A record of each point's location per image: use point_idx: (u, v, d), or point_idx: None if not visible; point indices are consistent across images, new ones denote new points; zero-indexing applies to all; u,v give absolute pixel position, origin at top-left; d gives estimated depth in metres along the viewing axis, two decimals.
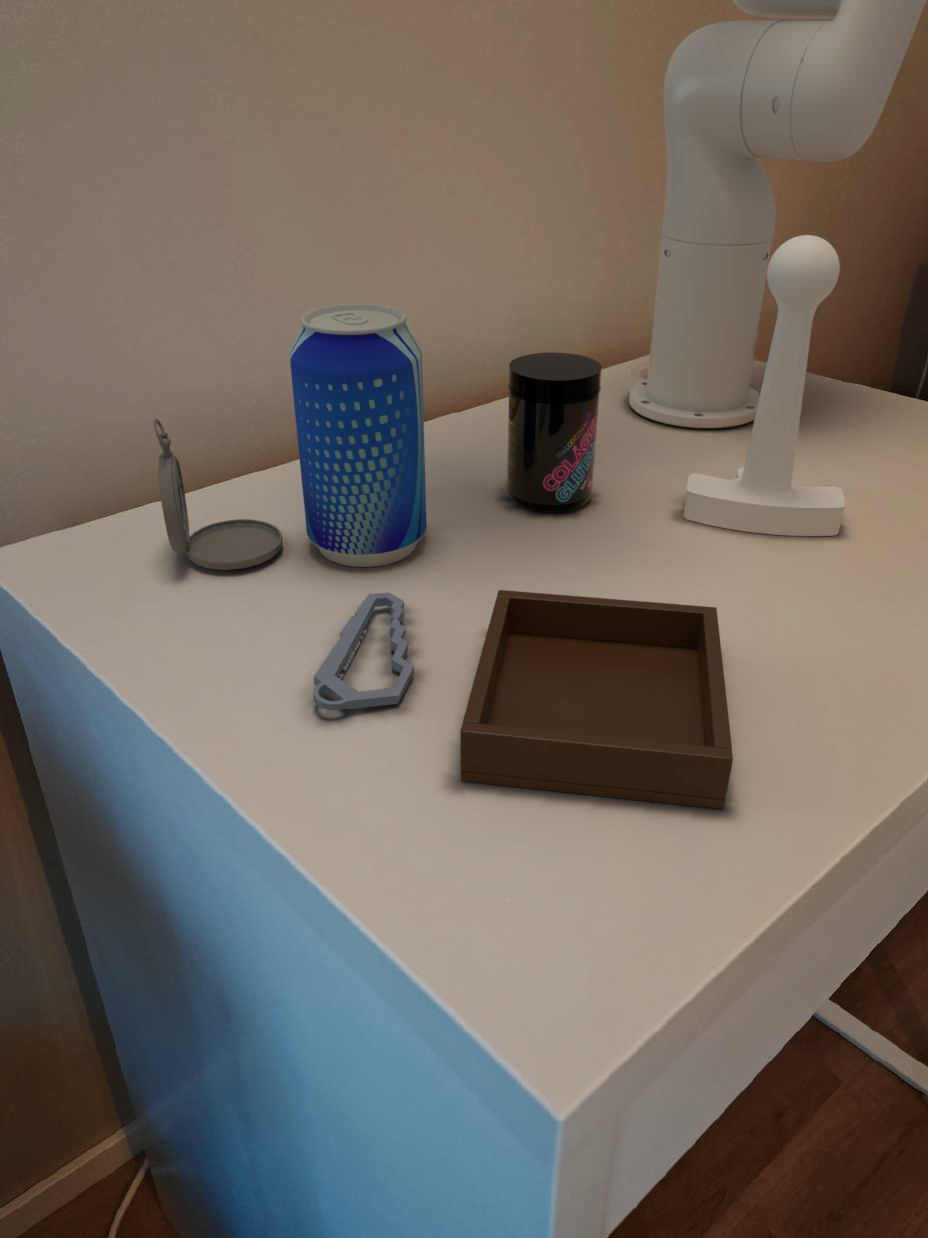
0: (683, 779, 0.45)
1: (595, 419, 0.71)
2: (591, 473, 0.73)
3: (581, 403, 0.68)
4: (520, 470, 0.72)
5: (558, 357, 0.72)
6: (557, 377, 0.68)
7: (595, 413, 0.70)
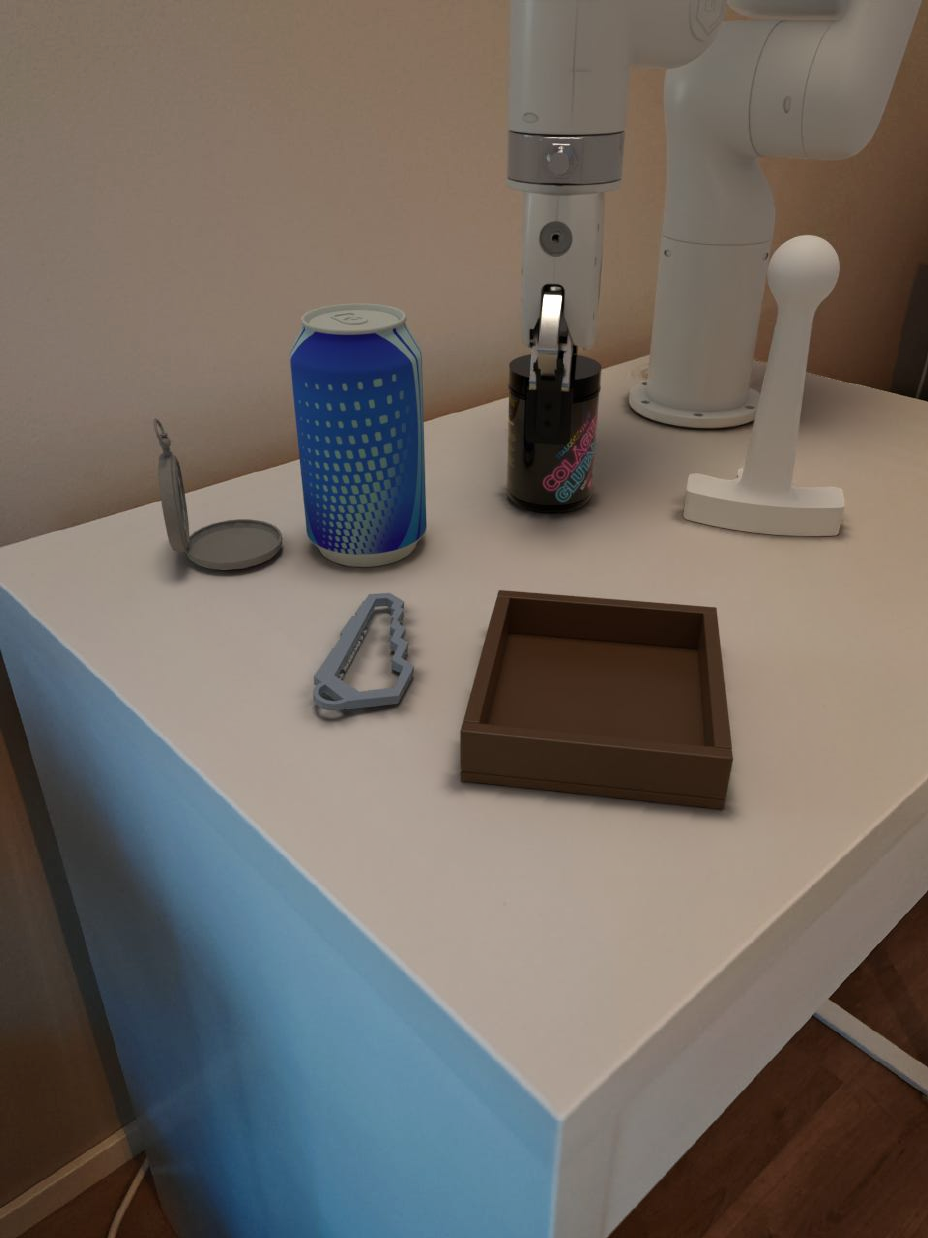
0: (683, 779, 0.45)
1: (595, 419, 0.71)
2: (591, 473, 0.73)
3: (581, 403, 0.68)
4: (520, 470, 0.72)
5: (558, 357, 0.72)
6: None
7: (595, 413, 0.70)
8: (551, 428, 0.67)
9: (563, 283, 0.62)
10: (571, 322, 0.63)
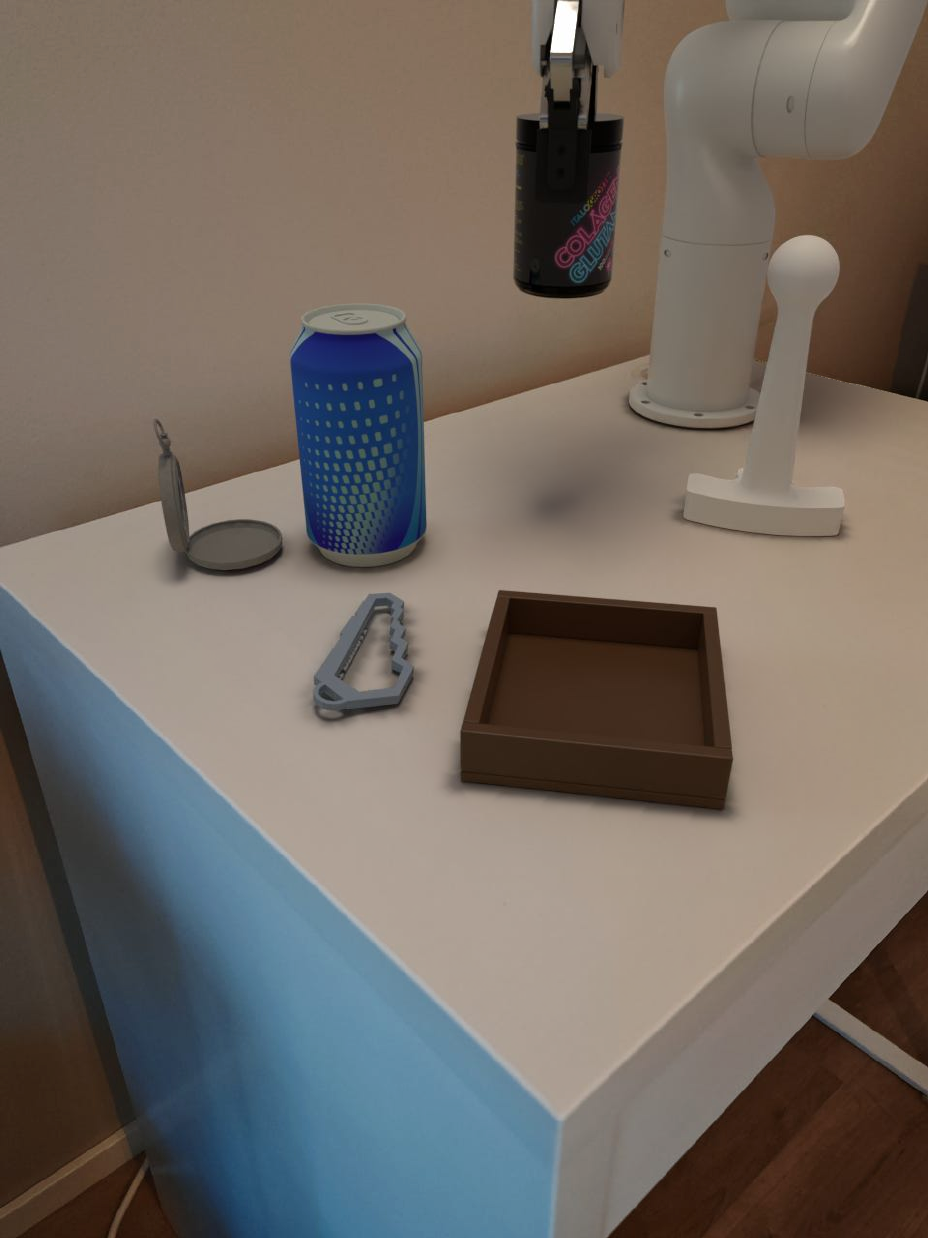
0: (683, 779, 0.45)
1: (616, 181, 0.61)
2: (611, 252, 0.63)
3: (600, 154, 0.59)
4: (528, 245, 0.62)
5: None
6: None
7: (616, 173, 0.60)
8: (565, 179, 0.58)
9: None
10: (590, 33, 0.53)
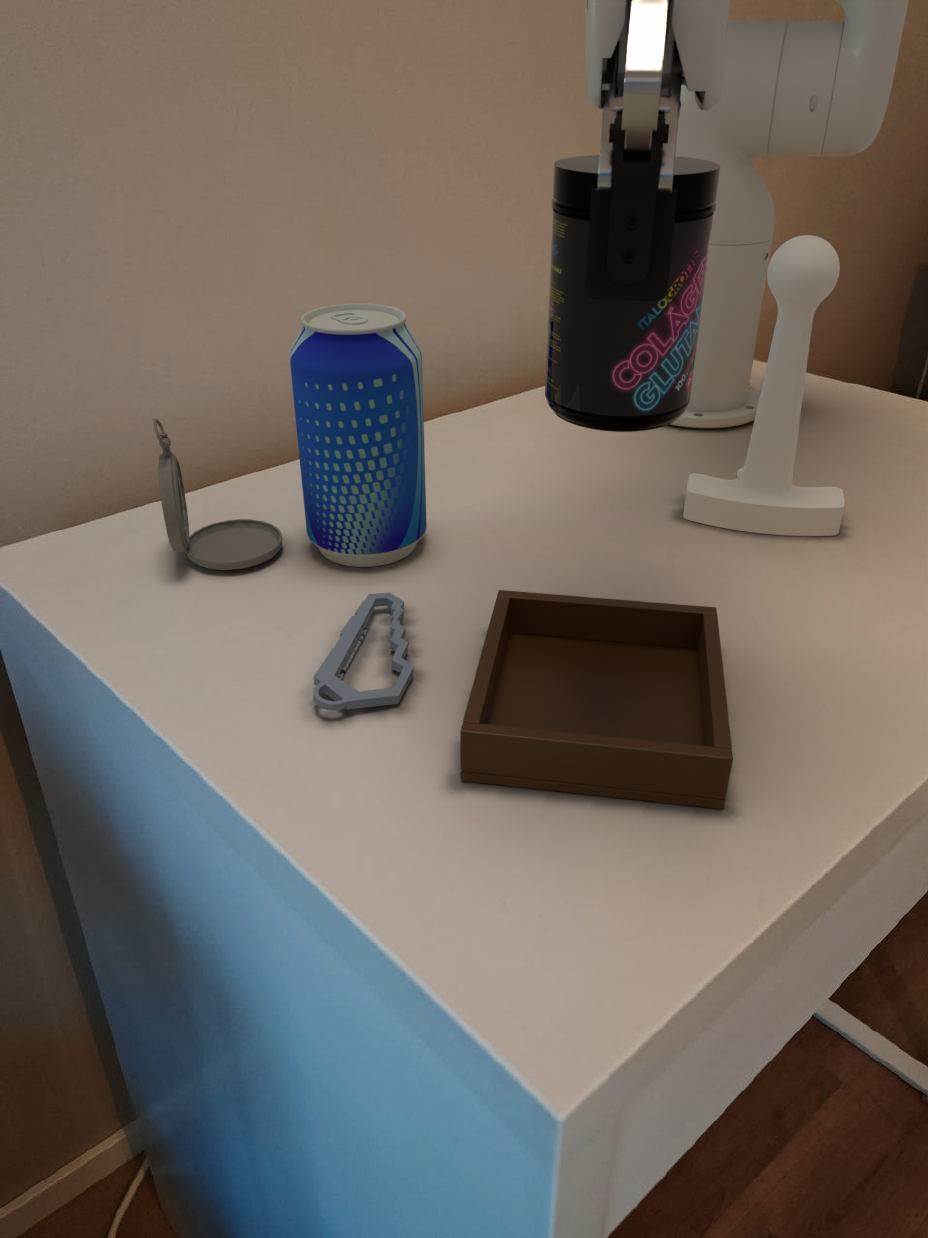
0: (683, 779, 0.45)
1: (705, 262, 0.40)
2: (693, 363, 0.42)
3: (686, 224, 0.38)
4: (571, 355, 0.41)
5: None
6: None
7: (706, 250, 0.40)
8: (635, 266, 0.37)
9: None
10: (685, 39, 0.33)
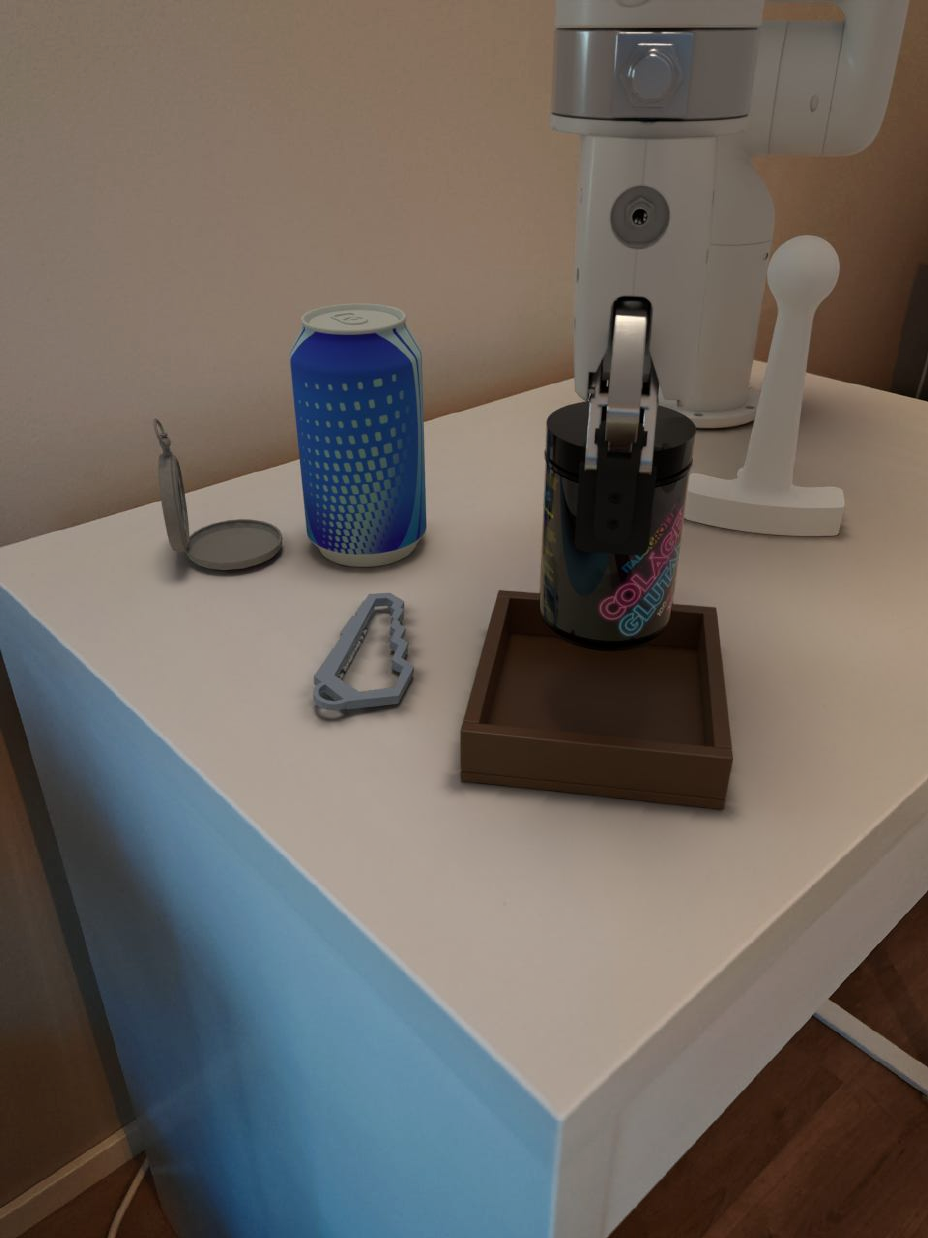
0: (683, 779, 0.45)
1: (683, 509, 0.44)
2: (673, 589, 0.46)
3: (665, 487, 0.42)
4: (562, 587, 0.45)
5: None
6: None
7: (684, 500, 0.44)
8: (619, 531, 0.41)
9: (650, 295, 0.36)
10: (661, 361, 0.37)
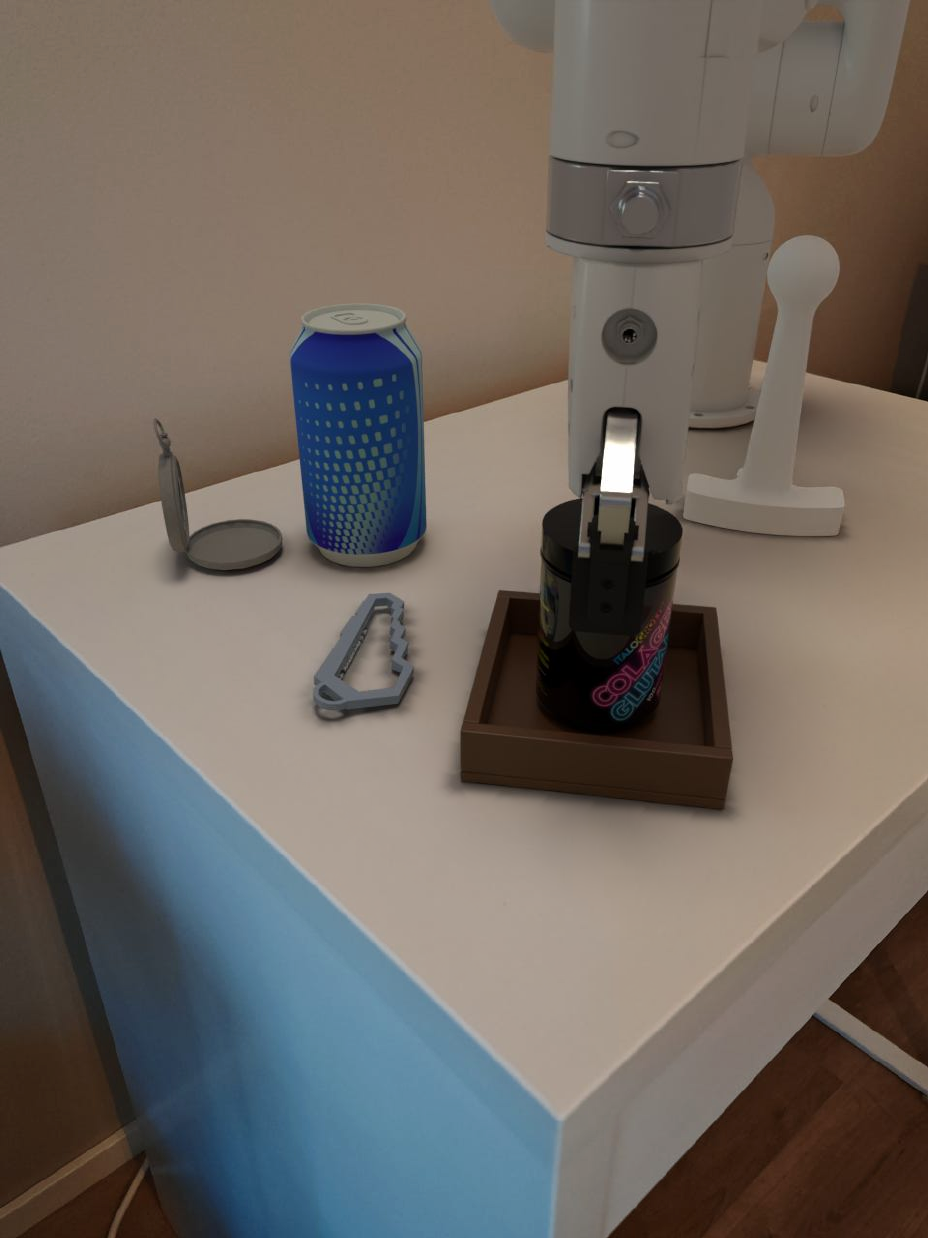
0: (683, 779, 0.45)
1: (671, 603, 0.47)
2: (662, 675, 0.49)
3: (653, 587, 0.45)
4: (557, 675, 0.48)
5: None
6: None
7: (672, 596, 0.47)
8: (612, 615, 0.42)
9: (641, 397, 0.38)
10: (652, 449, 0.39)
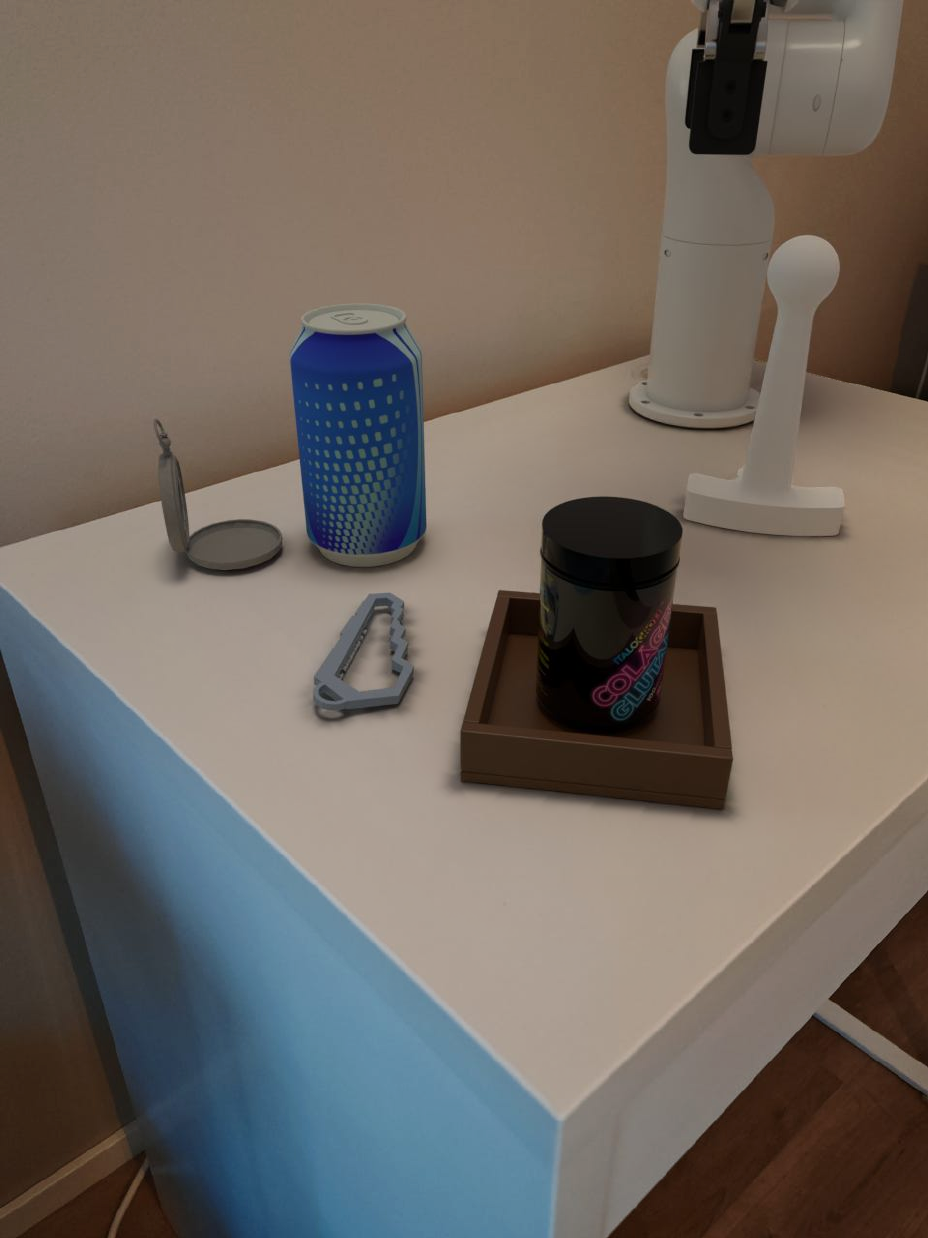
0: (683, 779, 0.45)
1: (671, 603, 0.47)
2: (662, 675, 0.49)
3: (653, 587, 0.45)
4: (557, 675, 0.48)
5: (613, 506, 0.48)
6: (618, 551, 0.44)
7: (672, 595, 0.47)
8: (732, 123, 0.46)
9: None
10: None
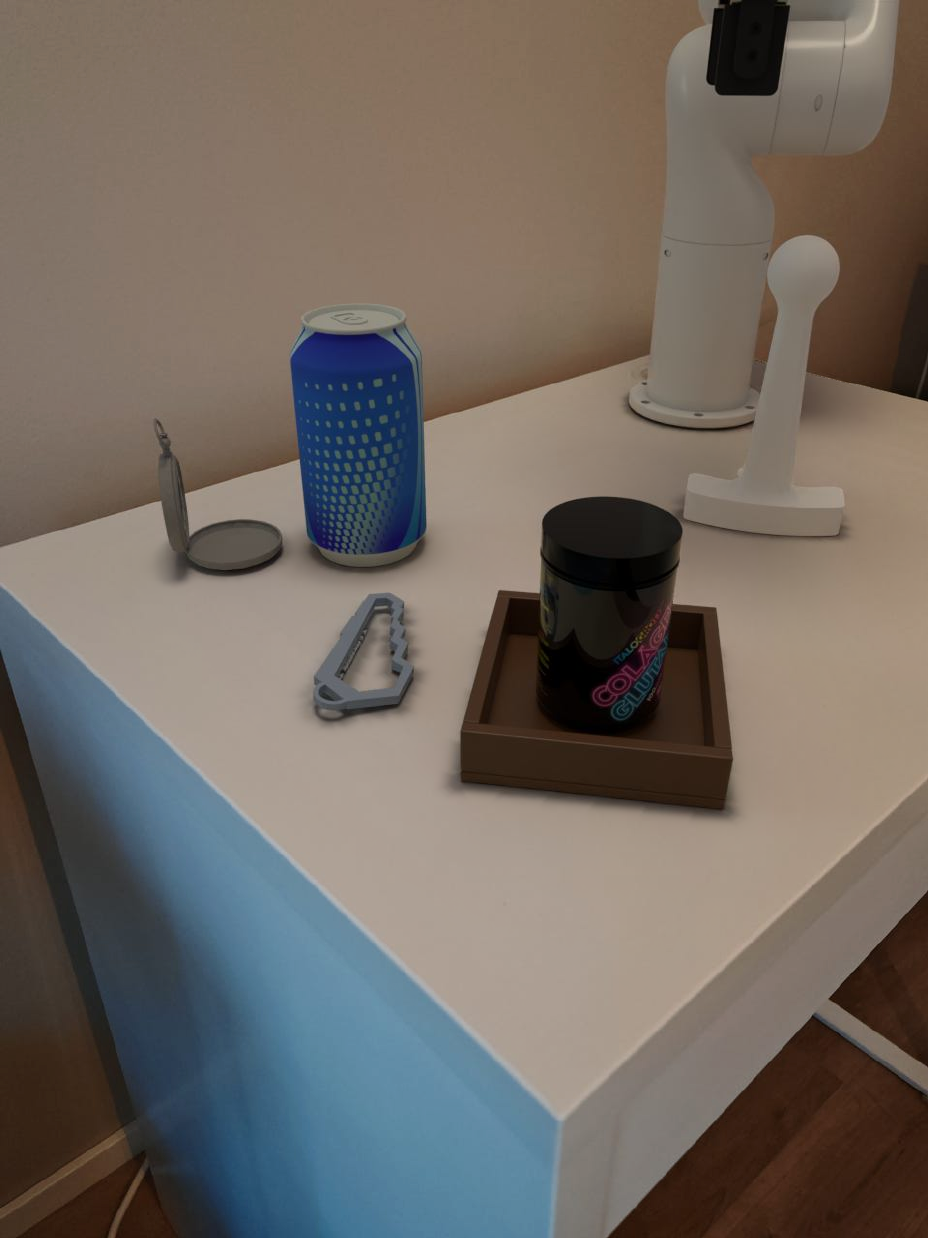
0: (683, 779, 0.45)
1: (671, 603, 0.47)
2: (662, 675, 0.49)
3: (653, 587, 0.45)
4: (557, 675, 0.48)
5: (613, 506, 0.48)
6: (618, 551, 0.44)
7: (672, 595, 0.47)
8: (756, 64, 0.49)
9: None
10: None
